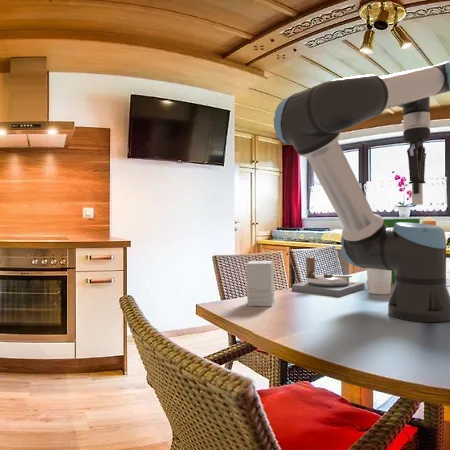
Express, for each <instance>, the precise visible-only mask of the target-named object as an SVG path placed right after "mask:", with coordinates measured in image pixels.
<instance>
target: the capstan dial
mask: <svg viewBox="0 0 450 450" xmlns="http://www.w3.org/2000/svg"><path fill="white" fill-rule="evenodd" d="M315 260H316V258H315V257H314V256H308V257H305V271H306V272H305V273H306V274H305V275H306V276H305V277H306V278H307V281H308V284H311V285H316V286H345V285H348V284H349V281H350V278H352V277H353V275H351V274H349V275H342V274H332V273H323V274H316V267H315V266H316V265H315V264H316V262H315Z"/></svg>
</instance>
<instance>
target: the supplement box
mask: <svg viewBox="0 0 450 450" xmlns="http://www.w3.org/2000/svg"><path fill="white" fill-rule="evenodd" d="M245 270H246V295H247V296H246V297H247V299H246V300H247V306H248V307H272V306H273V304H275V303H274V302H275V284H274V283H275V281H274V280H275V279H274V276H275V275H274V260H249V261H248V262H246V264H245Z"/></svg>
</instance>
